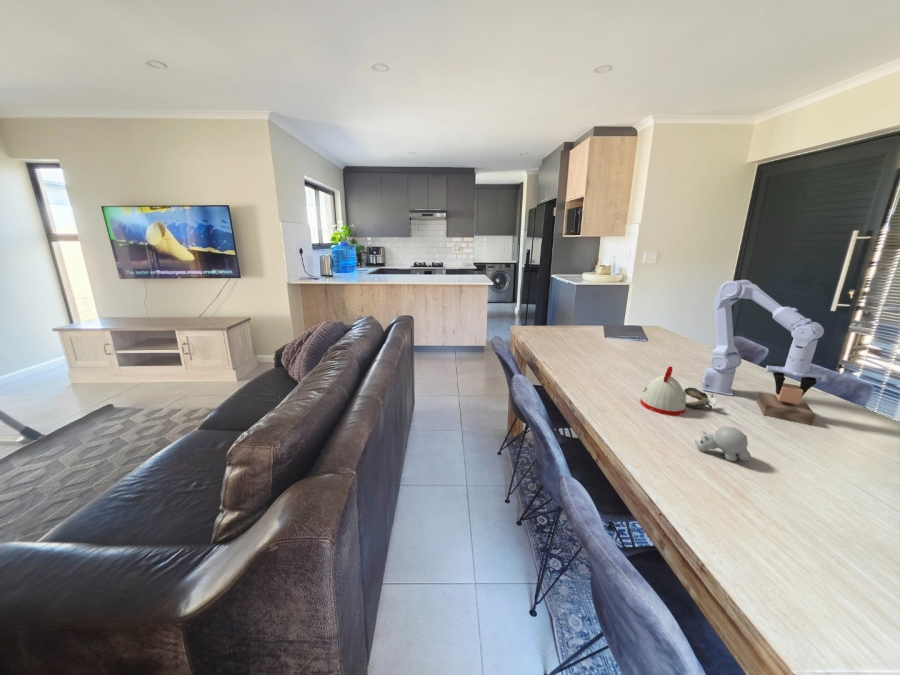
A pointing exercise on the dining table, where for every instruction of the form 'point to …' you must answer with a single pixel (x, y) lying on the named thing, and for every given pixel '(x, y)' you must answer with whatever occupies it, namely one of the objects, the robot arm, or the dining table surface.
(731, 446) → the round bodied animal figurine
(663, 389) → the chicken-shaped dome
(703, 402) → the eagle figurine
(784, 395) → the terracotta cube
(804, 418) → the walnut plinth
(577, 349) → the dining table surface
